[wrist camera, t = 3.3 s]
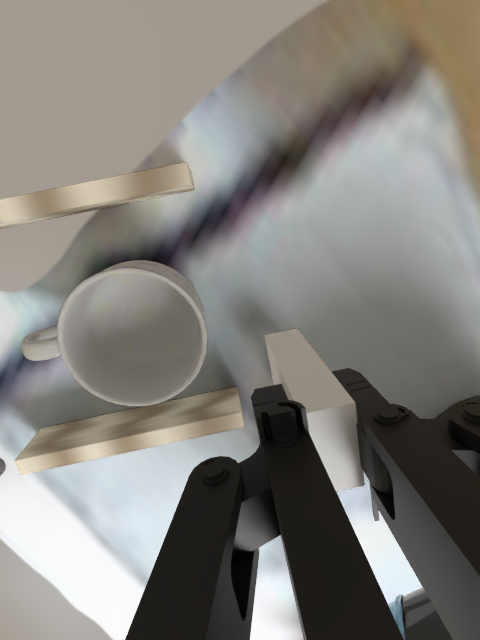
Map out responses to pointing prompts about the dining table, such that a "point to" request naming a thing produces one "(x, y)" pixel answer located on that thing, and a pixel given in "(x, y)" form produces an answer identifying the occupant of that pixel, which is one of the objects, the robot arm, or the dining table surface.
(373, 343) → the dining table surface
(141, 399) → the teacup
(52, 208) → the wooden bars
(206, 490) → the robot arm
